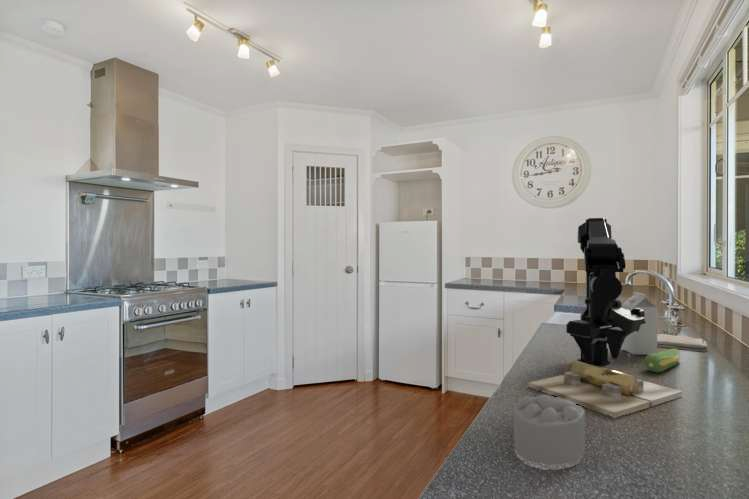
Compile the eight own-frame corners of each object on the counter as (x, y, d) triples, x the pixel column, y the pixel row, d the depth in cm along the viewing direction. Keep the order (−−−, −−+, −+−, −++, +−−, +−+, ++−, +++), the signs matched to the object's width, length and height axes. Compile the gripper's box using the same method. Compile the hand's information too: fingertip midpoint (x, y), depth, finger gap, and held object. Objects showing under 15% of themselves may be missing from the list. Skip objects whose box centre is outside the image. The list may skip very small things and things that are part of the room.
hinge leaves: (528, 387, 107) (528, 372, 107) (593, 371, 119) (593, 358, 119) (614, 418, 88) (614, 400, 88) (682, 396, 100) (682, 380, 99)
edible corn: (638, 355, 119) (655, 354, 116) (668, 347, 131) (685, 345, 128) (643, 375, 118) (661, 374, 115) (673, 364, 130) (690, 363, 126)
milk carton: (645, 349, 142) (645, 291, 142) (657, 355, 135) (657, 294, 135) (622, 349, 143) (622, 291, 143) (633, 355, 136) (633, 294, 136)
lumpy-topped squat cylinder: (591, 448, 75) (590, 398, 75) (566, 479, 65) (565, 422, 65) (531, 431, 82) (531, 386, 82) (501, 457, 72) (500, 405, 72)
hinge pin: (570, 380, 108) (570, 362, 108) (582, 377, 110) (582, 359, 110) (626, 398, 96) (625, 377, 96) (638, 393, 98) (637, 373, 98)
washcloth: (708, 353, 139) (708, 344, 138) (642, 346, 149) (642, 337, 149) (706, 346, 148) (706, 337, 148) (644, 340, 158) (644, 331, 158)
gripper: (610, 302, 91) (610, 376, 91) (660, 296, 100) (660, 364, 100) (564, 297, 101) (564, 364, 101) (614, 292, 110) (614, 353, 110)
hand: (602, 361), depth 103 cm, fingers open, 9 cm apart
